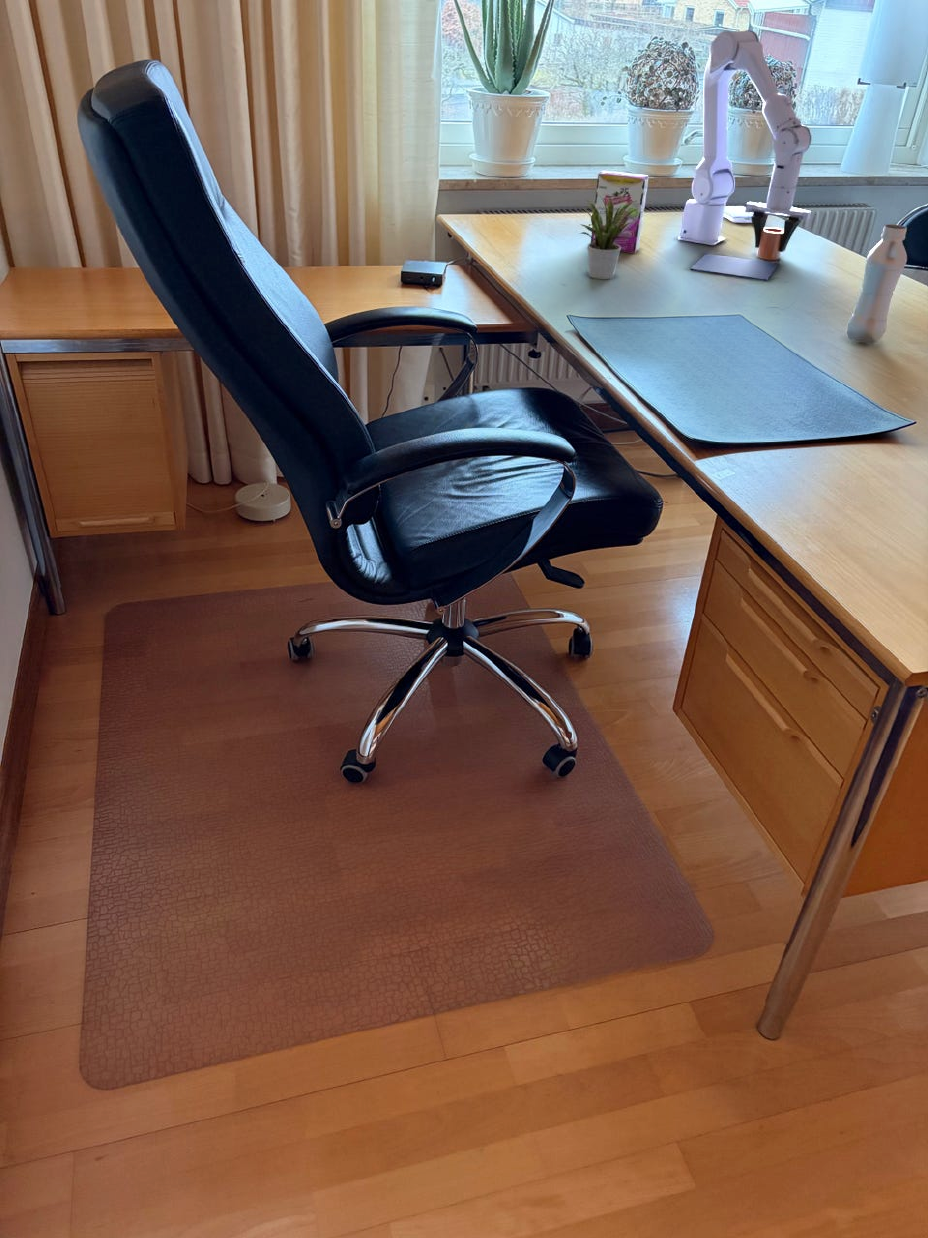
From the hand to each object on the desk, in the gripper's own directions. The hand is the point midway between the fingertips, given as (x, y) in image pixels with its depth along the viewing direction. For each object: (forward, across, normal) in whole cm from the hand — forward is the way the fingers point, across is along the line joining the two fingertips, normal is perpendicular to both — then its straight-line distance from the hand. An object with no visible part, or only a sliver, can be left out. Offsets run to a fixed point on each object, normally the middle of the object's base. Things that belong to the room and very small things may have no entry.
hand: (769, 248), depth 216 cm
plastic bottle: (+2, +34, -48) cm, 59 cm away
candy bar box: (+2, -32, -17) cm, 36 cm away
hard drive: (+2, -20, +36) cm, 41 cm away
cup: (+2, 0, 0) cm, 2 cm away
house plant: (+2, -23, -39) cm, 45 cm away
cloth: (+2, -3, -14) cm, 14 cm away
